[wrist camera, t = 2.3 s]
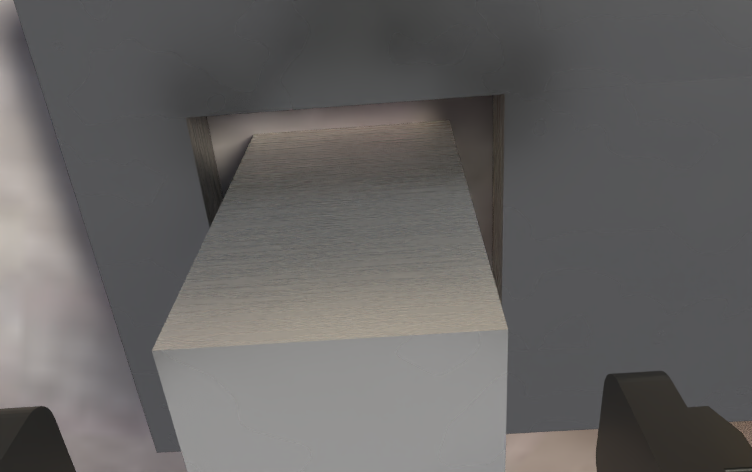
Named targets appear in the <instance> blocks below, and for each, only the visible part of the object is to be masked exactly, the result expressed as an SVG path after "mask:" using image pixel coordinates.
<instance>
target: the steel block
mask: <svg viewBox="0 0 752 472" xmlns="http://www.w3.org/2000/svg"><path fill="white" fill-rule="evenodd" d="M152 353H153V356H154V360H155V363H156V367H157V370H158V373H159V377H160V380H161V384H162V387H163V391H164V394H165V397H166V401H167V404H168V408H169V411H170V414H171V418H172V421H173V425H174V428H175V432H176V435H177V438H178V442H179V445H180V449H181V452H182V455H183V459H184V462H185V466H186V469H187V472H505V458H506V409H507V361H508V327H507V324H506V320H505V317H504V313H503V310H502V306H501V302H500V299H499V295H498V292H497V288H496V285H495V281H494V278H493V274H492V271H491V267H490V264H489V260H488V256H487V253H486V249H485V246H484V242H483V239H482V235H481V232H480V228H479V225H478V221H477V217H476V214H475V210H474V207H473V203H472V200H471V196H470V193H469V189H468V186H467V182H466V179H465V175H464V171H463V168H462V164H461V161H460V157H459V154H458V150H457V147H456V143H455V140H454V136H453V133H452V129H451V125H450V122H449V120H447V121H433V122H419V123H405V124H391V125H378V126H364V127H350V128H336V129H322V130H308V131H294V132H280V133H267V134H254V136H253V138H252V140H251V142H250V144H249V146H248V148H247V150H246V152H245V155H244V157H243V159H242V161H241V163H240V165H239V167H238V169H237V171H236V174H235V176H234V178H233V180H232V182H231V184H230V186H229V188H228V191H227V193H226V195H225V197H224V199H223V201H222V203H221V205H220V207H219V210H218V212H217V214H216V216H215V218H214V220H213V222H212V224H211V227H210V229H209V231H208V233H207V235H206V237H205V239H204V241H203V243H202V246H201V248H200V250H199V252H198V254H197V256H196V258H195V260H194V263H193V265H192V267H191V269H190V271H189V273H188V275H187V277H186V279H185V282H184V284H183V286H182V288H181V290H180V292H179V294H178V296H177V299H176V301H175V303H174V305H173V307H172V309H171V311H170V313H169V315H168V318H167V320H166V322H165V324H164V326H163V328H162V330H161V332H160V335H159V337H158V339H157V341H156V343H155V345H154V347H153V349H152Z"/></svg>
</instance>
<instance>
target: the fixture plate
mask: <svg viewBox="0 0 752 472" xmlns="http://www.w3.org/2000/svg"><path fill="white" fill-rule="evenodd" d="M14 4H15V7H16V10H17V13H18V16H19V19H20V22H21V26H22V29H23V32H24V35H25V38H26V41H27V45H28V48H29V51H30V54H31V57H32V60H33V63H34V67H35V70H36V73H37V76H38V79H39V82H40V85H41V89H42V92H43V95H44V98H45V101H46V104H47V108H48V111H49V114H50V117H51V120H52V123H53V126H54V130H55V133H56V136H57V139H58V142H59V145H60V149H61V152H62V155H63V158H64V161H65V164H66V167H67V171H68V174H69V177H70V180H71V183H72V186H73V189H74V193H75V196H76V199H77V202H78V205H79V208H80V212H81V215H82V218H83V221H84V224H85V227H86V230H87V234H88V237H89V240H90V243H91V246H92V249H93V252H94V256H95V259H96V262H97V265H98V268H99V271H100V275H101V278H102V281H103V284H104V287H105V290H106V293H107V297H108V300H109V303H110V306H111V309H112V312H113V316H114V319H115V322H116V325H117V328H118V331H119V334H120V338H121V341H122V344H123V347H124V350H125V353H126V356H127V360H128V363H129V366H130V369H131V372H132V375H133V379H134V382H135V385H136V388H137V391H138V394H139V397H140V401H141V404H142V407H143V410H144V413H145V416H146V419H147V423H148V426H149V429H150V432H151V435H152V438H153V442H154V445H155V448H156V451H157V453H158V452H176V451H181V449H180V445H179V442H178V438H177V435H176V432H175V428H174V425H173V421H172V418H171V414H170V411H169V408H168V404H167V401H166V397H165V394H164V391H163V387H162V384H161V380H160V377H159V373H158V370H157V367H156V363H155V360H154V356H153V353H152V349H153V347H154V345H155V343H156V341H157V339H158V337H159V335H160V332H161V330H162V328H163V326H164V324H165V322H166V320H167V318H168V315H169V313H170V311H171V309H172V307H173V305H174V303H175V301H176V299H177V296H178V294H179V292H180V290H181V288H182V286H183V284H184V282H185V279H186V277H187V275H188V273H189V271H190V269H191V267H192V265H193V263H194V260H195V258H196V256H197V254H198V252H199V250H200V248H201V246H202V243H203V241H204V239H205V237H206V235H207V233H208V231H209V229H210V227H211V224H212V222H213V220H214V218H215V216H216V214H217V212H218V210H219V207H220V205H221V203H222V201H223V196H222V191H221V186H220V181H219V176H218V171H217V166H216V161H215V156H214V151H213V147H212V142H211V137H210V132H209V127H208V122H207V117H206V116H214V115H228V114H241V113H255V112H269V111H282V110H296V109H310V108H323V107H337V106H351V105H365V104H378V103H392V102H406V101H419V100H433V99H447V98H460V97H474V96H488V95H494V97H493V240H492V274H493V278H494V281H495V285H496V288H497V292H498V295H499V299H500V302H501V306H502V310H503V313H504V317H505V320H506V324H507V327H508V361H507V409H506V434H511V433H530V432H548V431H567V430H586V429H599V421H600V413H601V404H602V396H603V387H604V381H605V378H606V376H607V375H608V374H613V373H630V372H646V371H664V372H665V373H666V374H667V375H668V376H669V377H670V379H671V380H672V382H673V384H674V385H675V387H676V389H677V390H678V392H679V394H680V395H681V397H682V399H683V400H684V402H685V404H686V406H687V407H700V406H709V407H710V408H711V409H713V410H714V411H715V412H717V413H718V414H719V415H720V416H722V417H723V418H724V419H725V420H727V421H728V422H734V421H752V0H14Z"/></svg>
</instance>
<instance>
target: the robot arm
mask: <svg viewBox="0 0 752 472" xmlns="http://www.w3.org/2000/svg"><path fill="white" fill-rule="evenodd" d="M596 467H597V472H752V447H751V446H750V444H749V443H748V441H747V440H746V438H745V436H744V435H743V433H742V432H740V431H739V430H738V429H737V428H735V427H734V426H733V425H732V424H730V423H729V422H728V421H727V420H725V419H724V418H723V417H722V416H720V415H719V414H718V413H717V412H715V411H714V410H713V409H711V408H710V407H709V406H700V407H687V406H686V404H685V402H684V400H683V399H682V397H681V395H680V394H679V392H678V390H677V389H676V387H675V385H674V384H673V382H672V380H671V379H670V377H669V376H668V375H667V374H666V373H665V372H664V371H646V372H630V373H613V374H608V375H607V376H606V378H605V381H604V387H603V396H602V404H601V413H600V421H599V430H598V439H597V447H596ZM0 472H76V471H75V468H74V466H73V463H72V460H71V458H70V455H69V453H68V450H67V448H66V445H65V443H64V440H63V438H62V435H61V433H60V430H59V428H58V425H57V423H56V420H55V418H54V416H53V414H52V412H51V411H50V410H49V409H48V408H46V407H43V406H39V407H22V408H5V409H0Z"/></svg>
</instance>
